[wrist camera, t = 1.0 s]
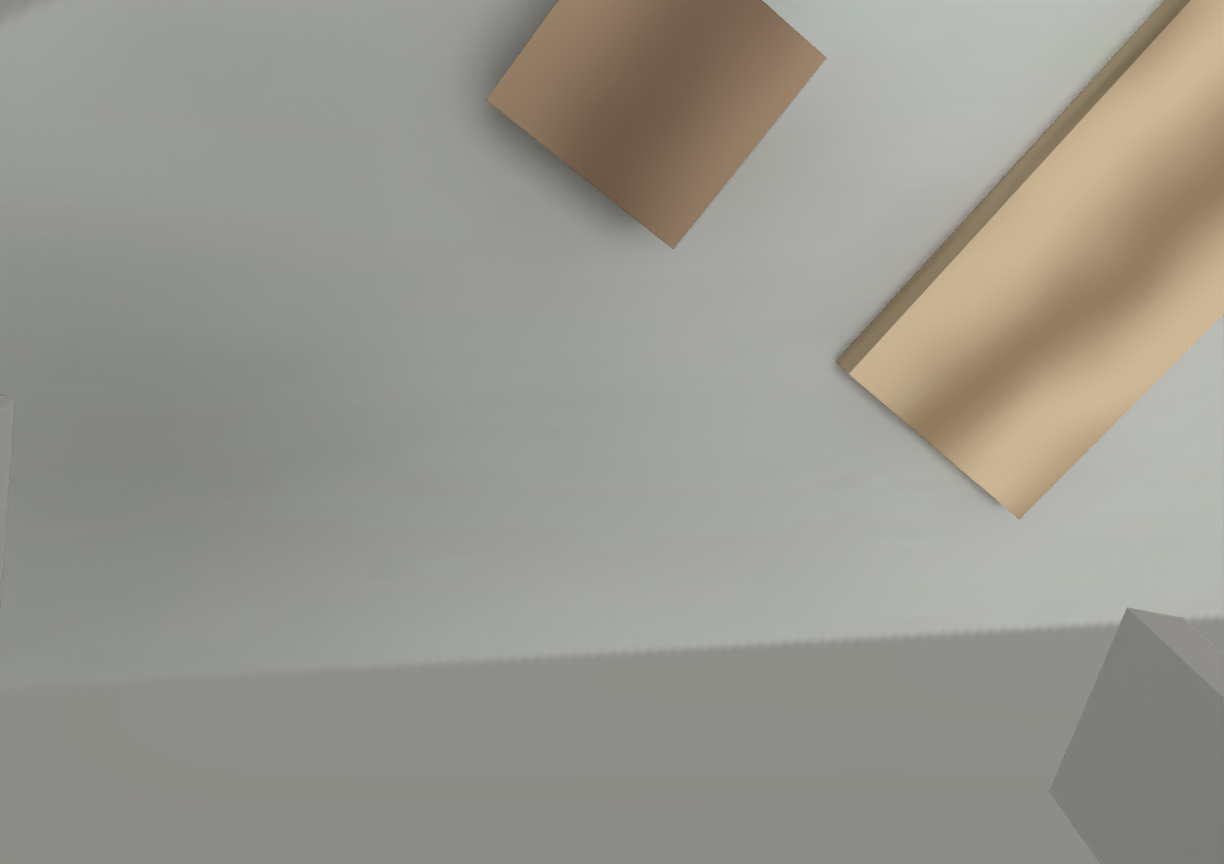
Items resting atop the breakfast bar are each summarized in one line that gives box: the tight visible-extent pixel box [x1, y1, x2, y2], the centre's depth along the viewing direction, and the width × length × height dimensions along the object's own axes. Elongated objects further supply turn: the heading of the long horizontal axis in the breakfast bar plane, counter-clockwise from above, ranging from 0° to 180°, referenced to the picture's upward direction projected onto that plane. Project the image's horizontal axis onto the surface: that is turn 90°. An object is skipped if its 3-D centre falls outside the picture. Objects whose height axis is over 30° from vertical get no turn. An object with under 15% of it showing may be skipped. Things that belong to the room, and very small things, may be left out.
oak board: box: [836, 0, 1224, 519], centre depth 35 cm, size 8×20×2 cm, turn 140°
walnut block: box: [486, 0, 826, 249], centre depth 30 cm, size 6×6×6 cm
